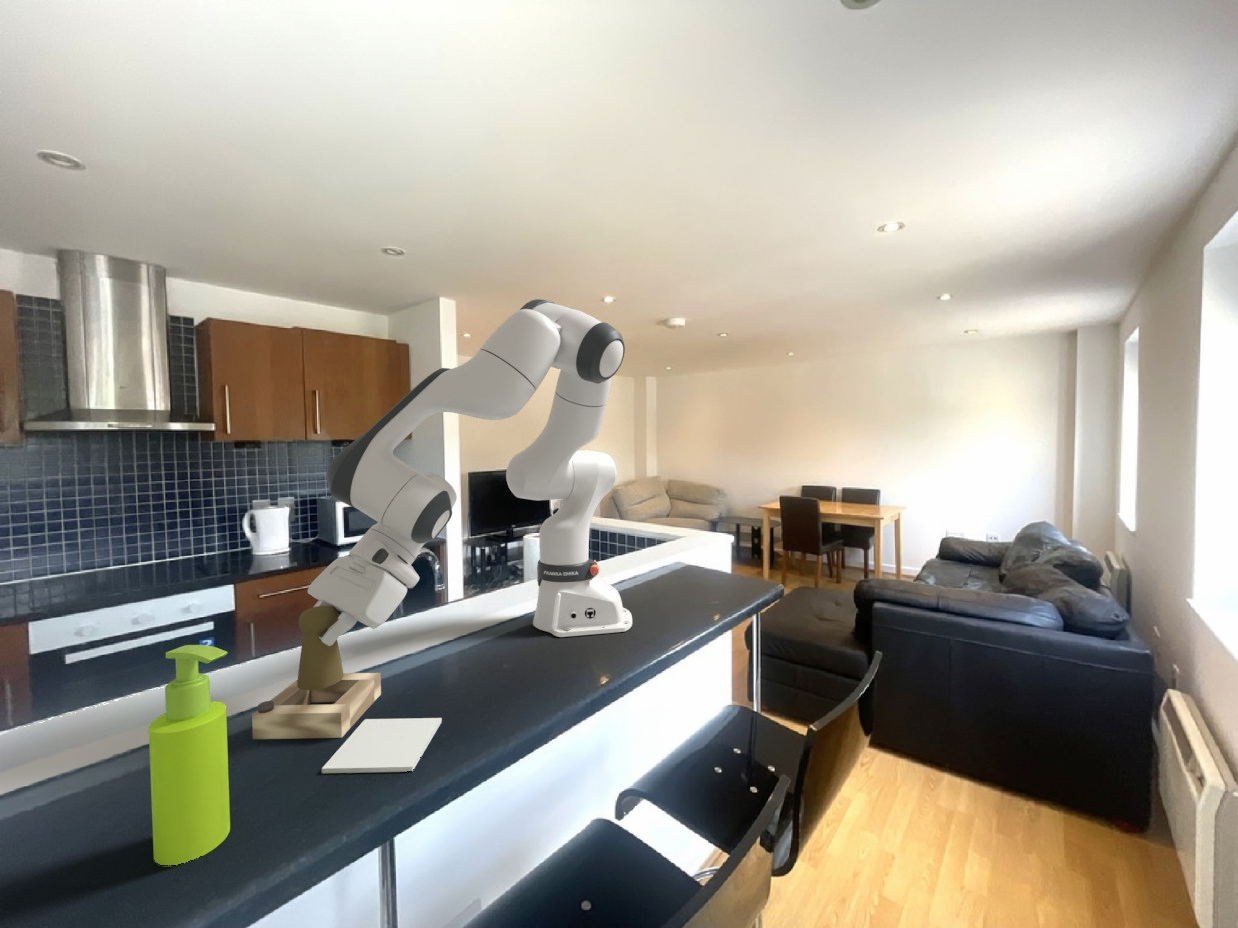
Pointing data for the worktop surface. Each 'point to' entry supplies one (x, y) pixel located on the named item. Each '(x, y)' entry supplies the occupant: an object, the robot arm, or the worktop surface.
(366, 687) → the sleeve block
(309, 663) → the brown pawn
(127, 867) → the worktop surface
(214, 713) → the soap dispenser
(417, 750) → the white mat
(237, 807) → the worktop surface
